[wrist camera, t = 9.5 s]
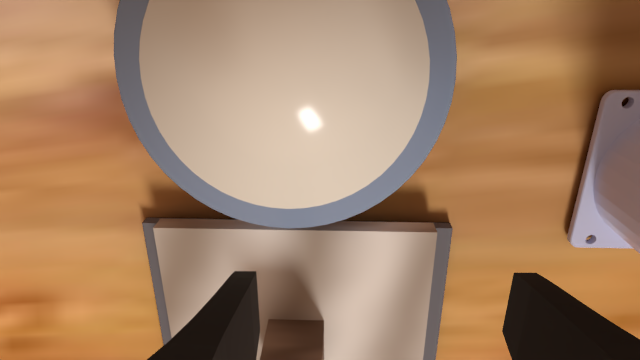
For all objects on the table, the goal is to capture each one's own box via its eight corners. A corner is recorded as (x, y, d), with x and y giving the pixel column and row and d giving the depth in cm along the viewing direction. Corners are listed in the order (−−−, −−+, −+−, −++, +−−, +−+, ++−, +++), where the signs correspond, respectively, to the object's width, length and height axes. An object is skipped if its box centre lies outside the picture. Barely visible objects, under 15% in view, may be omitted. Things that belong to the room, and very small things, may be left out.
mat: (449, 222, 23) (452, 228, 22) (425, 415, 28) (427, 423, 28) (146, 217, 24) (142, 223, 23) (179, 407, 29) (176, 415, 28)
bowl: (452, -103, 17) (480, -127, 14) (423, 196, 22) (438, 232, 19) (128, -100, 18) (79, -123, 15) (170, 192, 23) (141, 227, 20)
